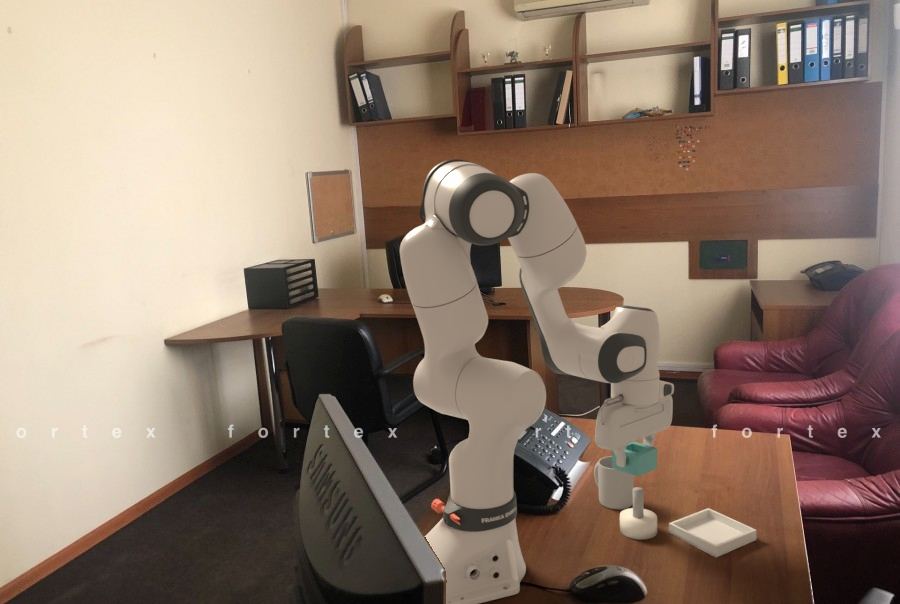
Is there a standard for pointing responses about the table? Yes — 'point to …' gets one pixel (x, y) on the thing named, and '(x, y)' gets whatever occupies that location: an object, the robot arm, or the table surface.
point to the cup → (613, 485)
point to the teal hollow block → (638, 459)
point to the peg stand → (638, 519)
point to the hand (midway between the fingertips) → (634, 460)
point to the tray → (712, 532)
